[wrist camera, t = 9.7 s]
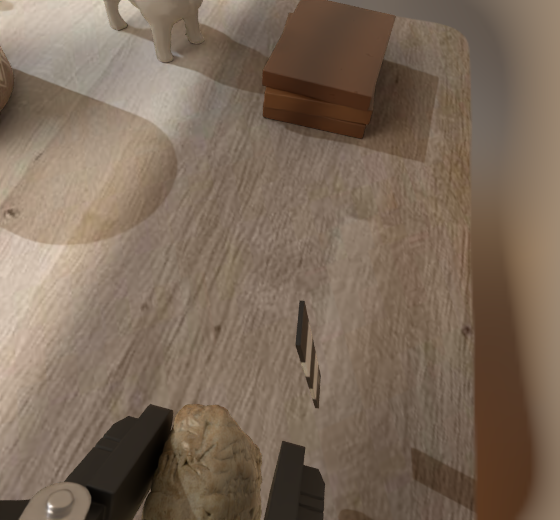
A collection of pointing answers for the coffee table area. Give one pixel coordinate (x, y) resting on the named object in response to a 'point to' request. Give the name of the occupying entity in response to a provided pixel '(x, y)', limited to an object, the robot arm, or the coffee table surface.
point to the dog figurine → (161, 21)
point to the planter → (5, 79)
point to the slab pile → (327, 67)
